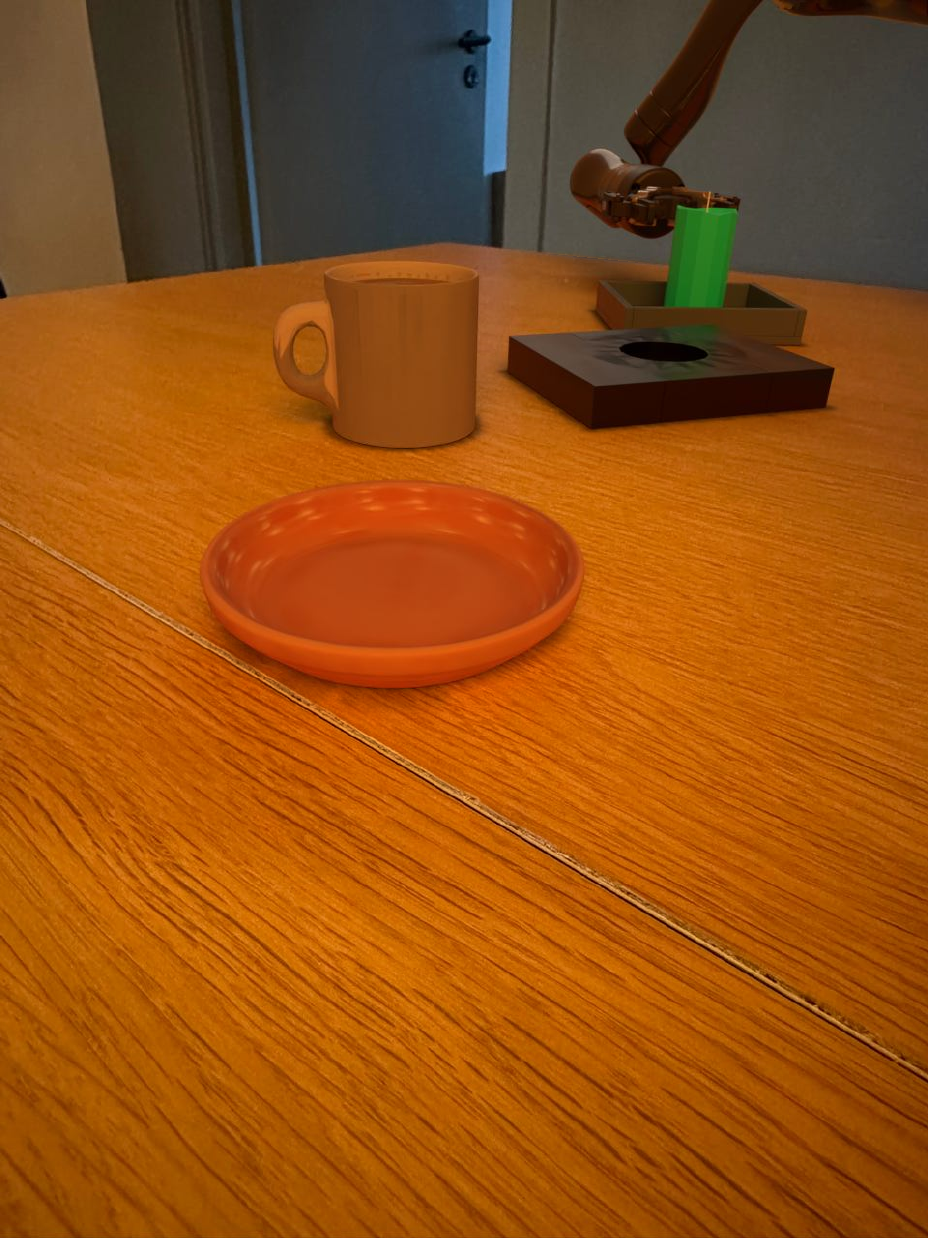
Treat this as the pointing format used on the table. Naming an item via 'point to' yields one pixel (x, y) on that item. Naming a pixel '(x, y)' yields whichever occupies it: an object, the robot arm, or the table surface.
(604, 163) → the robot arm
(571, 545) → the saucer
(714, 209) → the candle
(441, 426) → the coffee mug
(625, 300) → the brown open tray
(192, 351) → the table surface
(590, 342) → the dark brown flat block
